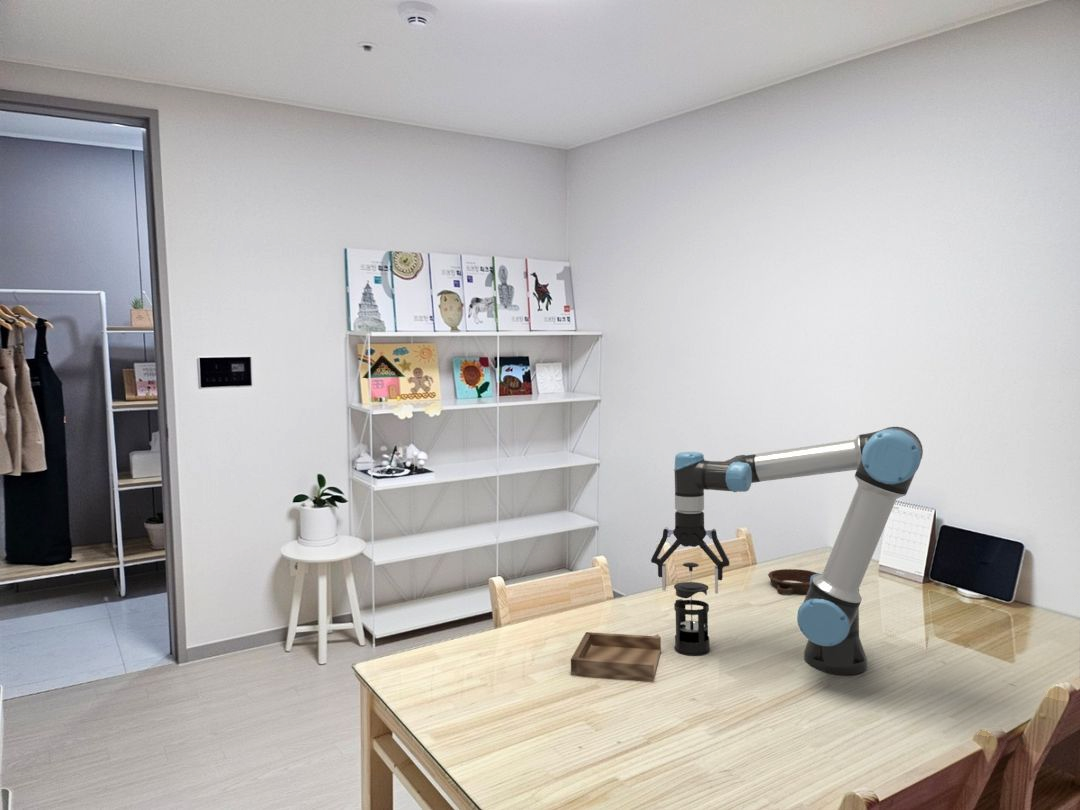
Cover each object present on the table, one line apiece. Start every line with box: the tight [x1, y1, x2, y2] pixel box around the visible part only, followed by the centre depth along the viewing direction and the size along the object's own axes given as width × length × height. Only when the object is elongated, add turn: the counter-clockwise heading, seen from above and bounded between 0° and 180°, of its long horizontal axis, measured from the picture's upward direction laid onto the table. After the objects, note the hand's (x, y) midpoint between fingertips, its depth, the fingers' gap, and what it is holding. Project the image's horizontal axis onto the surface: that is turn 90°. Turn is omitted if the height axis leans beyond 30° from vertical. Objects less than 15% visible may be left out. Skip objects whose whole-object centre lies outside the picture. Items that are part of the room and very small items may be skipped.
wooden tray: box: [570, 631, 662, 683], centre depth 191 cm, size 20×20×4 cm
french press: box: [673, 562, 711, 657], centre depth 199 cm, size 12×9×23 cm
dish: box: [767, 568, 819, 595], centre depth 251 cm, size 18×22×5 cm
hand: (690, 590), depth 199 cm, fingers open, 13 cm apart
